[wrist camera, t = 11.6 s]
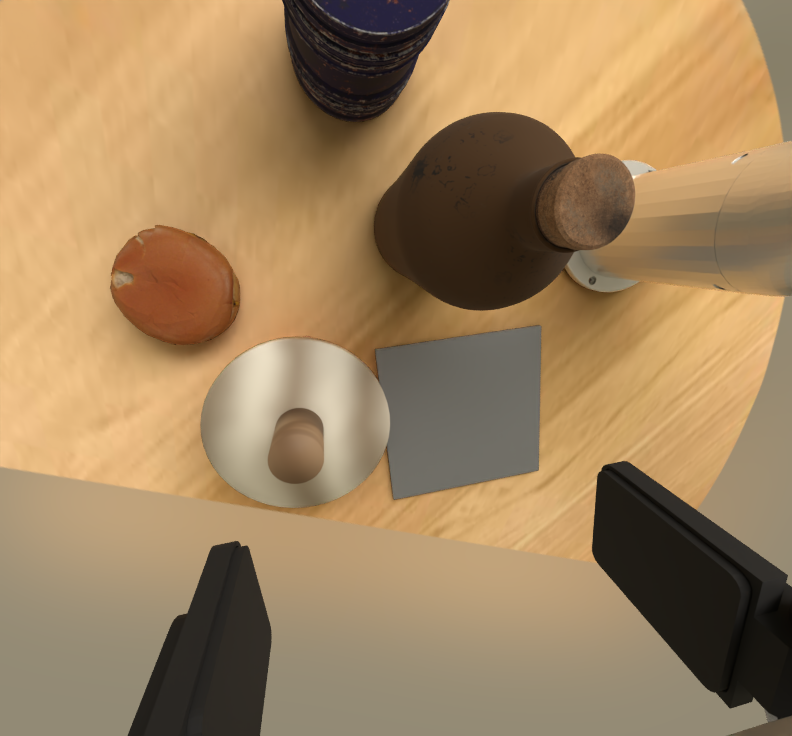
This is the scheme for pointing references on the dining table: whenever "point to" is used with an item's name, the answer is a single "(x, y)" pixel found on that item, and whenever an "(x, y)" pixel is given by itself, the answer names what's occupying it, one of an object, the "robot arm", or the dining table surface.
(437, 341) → the mat
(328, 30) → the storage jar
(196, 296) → the burger
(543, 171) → the olive oil
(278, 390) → the lid
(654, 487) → the robot arm
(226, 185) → the dining table surface
